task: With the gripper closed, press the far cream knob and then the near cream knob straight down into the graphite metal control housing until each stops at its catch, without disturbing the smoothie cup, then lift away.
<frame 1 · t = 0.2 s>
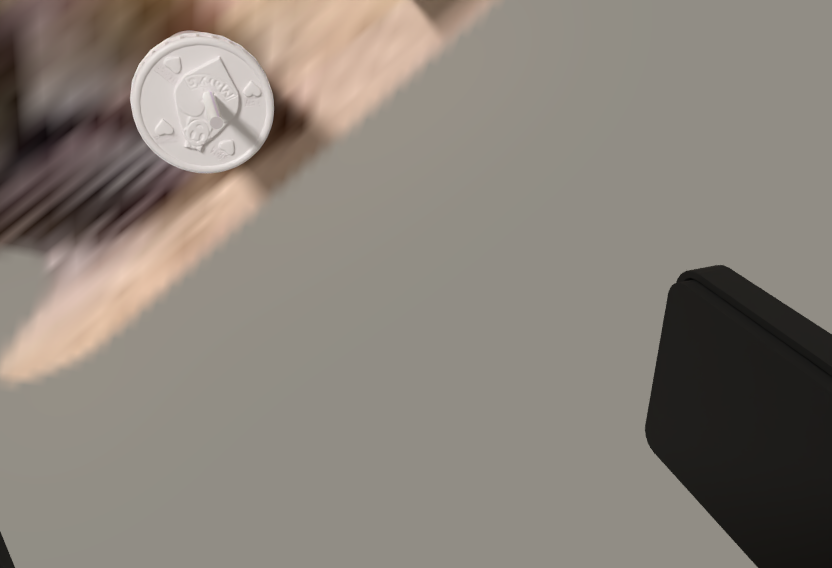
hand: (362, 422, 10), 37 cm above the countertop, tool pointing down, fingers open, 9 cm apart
smoothie: (192, 63, 41), on the countertop
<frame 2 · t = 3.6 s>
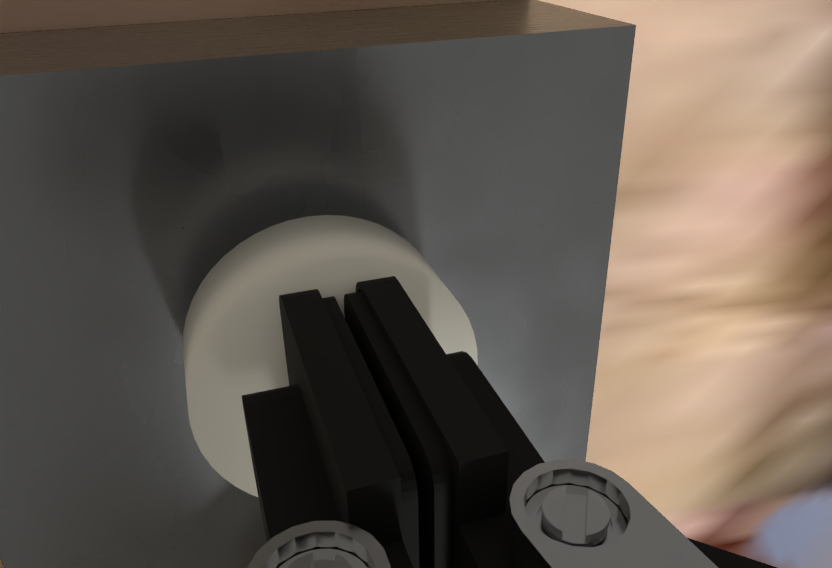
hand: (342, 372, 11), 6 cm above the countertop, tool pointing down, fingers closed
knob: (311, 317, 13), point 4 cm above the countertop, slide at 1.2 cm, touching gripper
housing: (294, 376, 18), on the countertop
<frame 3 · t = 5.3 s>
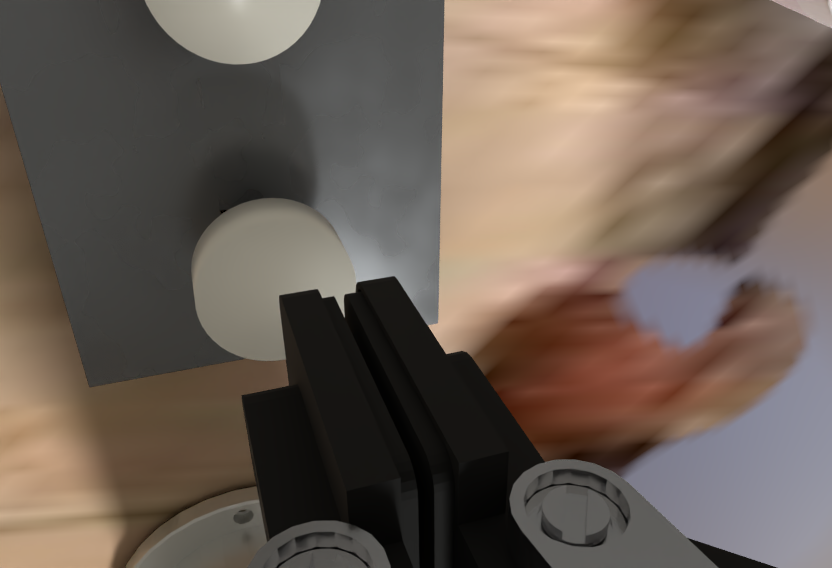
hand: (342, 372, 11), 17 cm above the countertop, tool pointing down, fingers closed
housing: (231, 77, 24), on the countertop
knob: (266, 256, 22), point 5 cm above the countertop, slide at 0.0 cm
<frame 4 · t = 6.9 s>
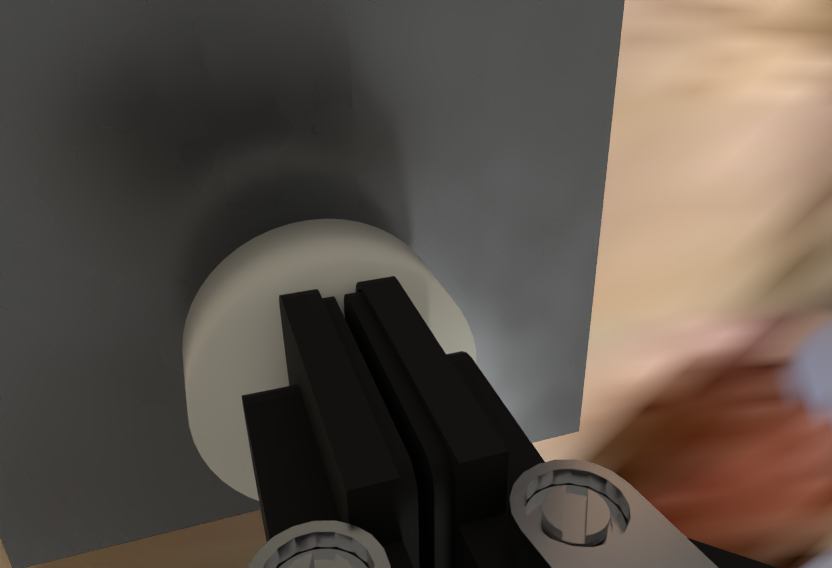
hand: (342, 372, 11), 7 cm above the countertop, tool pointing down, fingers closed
housing: (251, 44, 15), on the countertop
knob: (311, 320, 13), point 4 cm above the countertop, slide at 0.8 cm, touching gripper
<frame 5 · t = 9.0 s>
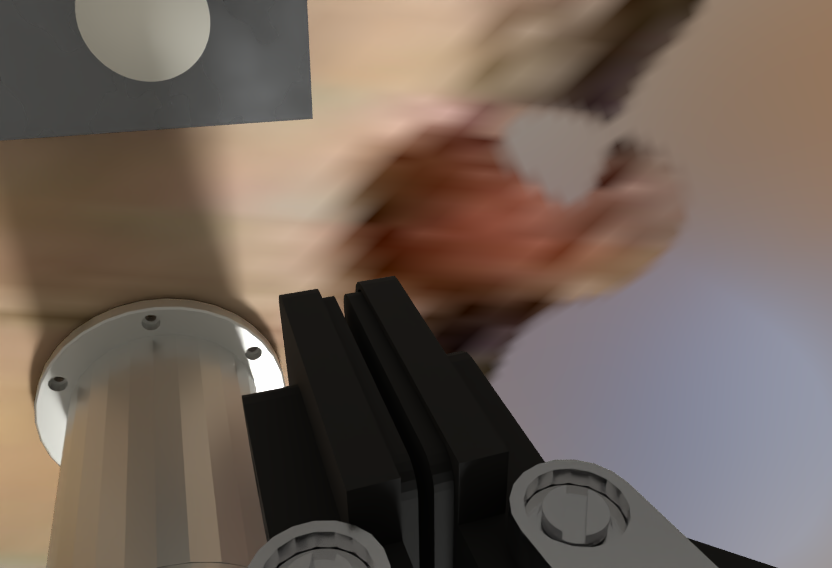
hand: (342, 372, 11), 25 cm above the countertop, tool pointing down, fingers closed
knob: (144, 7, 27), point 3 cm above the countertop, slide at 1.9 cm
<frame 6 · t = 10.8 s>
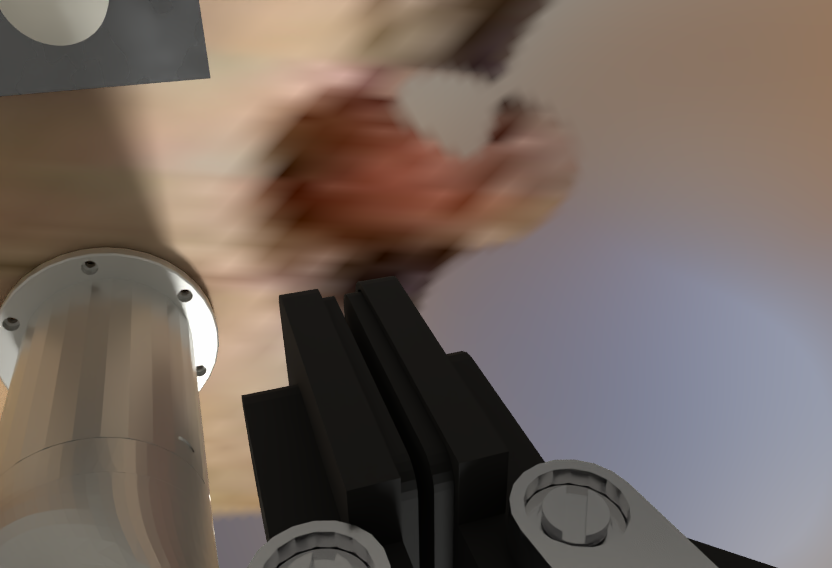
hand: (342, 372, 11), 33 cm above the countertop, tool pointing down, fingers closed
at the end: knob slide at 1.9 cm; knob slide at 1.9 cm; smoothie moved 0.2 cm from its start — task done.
